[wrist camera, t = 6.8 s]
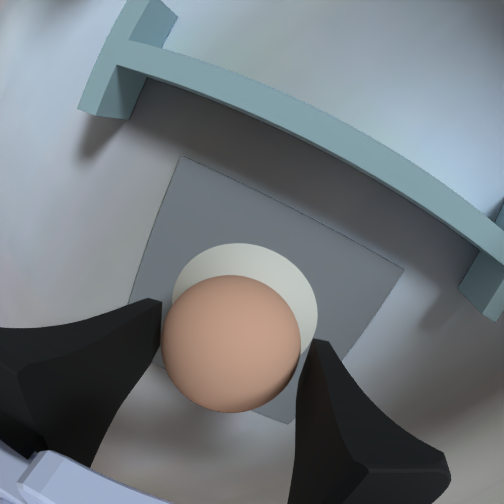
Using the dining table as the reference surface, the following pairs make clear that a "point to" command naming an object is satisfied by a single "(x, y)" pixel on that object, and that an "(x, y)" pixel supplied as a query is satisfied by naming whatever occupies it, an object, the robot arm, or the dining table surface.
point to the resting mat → (262, 262)
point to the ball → (230, 343)
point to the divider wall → (292, 122)
